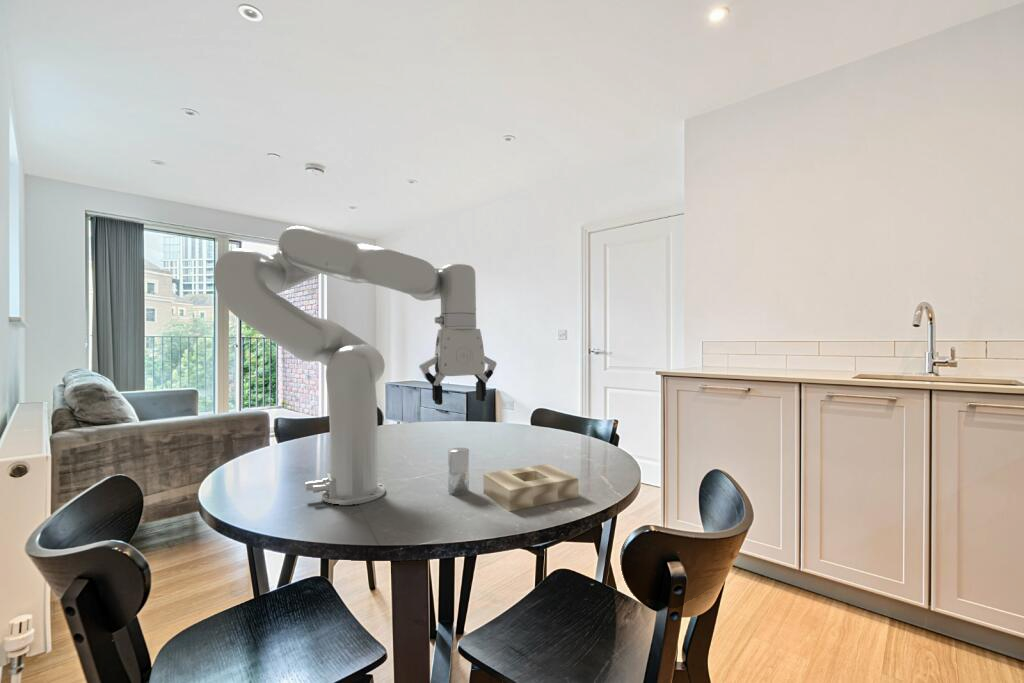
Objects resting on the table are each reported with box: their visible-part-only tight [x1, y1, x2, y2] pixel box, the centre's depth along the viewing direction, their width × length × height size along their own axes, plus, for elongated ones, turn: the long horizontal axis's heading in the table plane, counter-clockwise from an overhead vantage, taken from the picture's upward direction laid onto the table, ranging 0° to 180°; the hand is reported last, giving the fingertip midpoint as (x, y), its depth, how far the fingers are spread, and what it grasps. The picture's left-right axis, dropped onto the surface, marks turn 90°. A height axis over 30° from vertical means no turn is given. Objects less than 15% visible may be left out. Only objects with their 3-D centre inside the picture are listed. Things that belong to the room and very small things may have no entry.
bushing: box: [447, 447, 470, 496], centre depth 96 cm, size 4×4×9 cm
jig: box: [482, 463, 579, 512], centre depth 94 cm, size 16×12×4 cm
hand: (459, 402), depth 97 cm, fingers open, 9 cm apart
